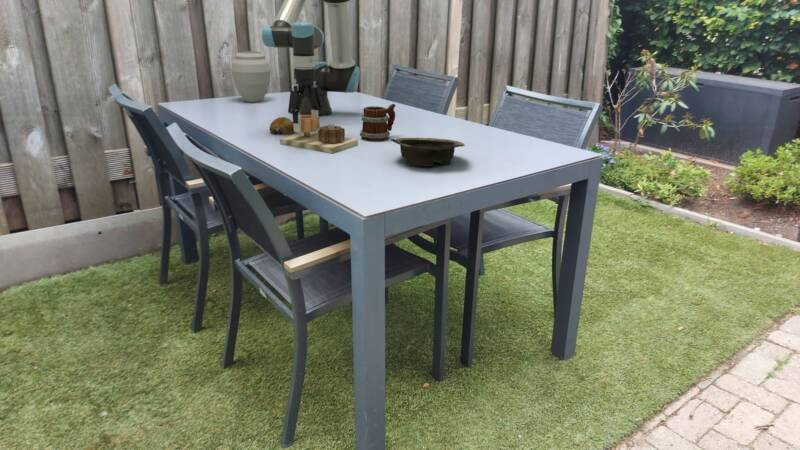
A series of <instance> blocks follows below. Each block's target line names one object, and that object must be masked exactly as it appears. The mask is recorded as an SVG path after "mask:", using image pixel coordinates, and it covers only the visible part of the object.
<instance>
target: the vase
mask: <svg viewBox="0 0 800 450" xmlns="http://www.w3.org/2000/svg"><path fill="white" fill-rule="evenodd" d="M230 69H231V70H230V71H231V75H232V79H233V83H234V85H235V87H236V90H237V92H238V93H239V95H240V97H241V98H242V99H243V100H244V101H245V102H247V103H260V102H261V101H263V100H264V98H265V96H266V95H267V92H268V89H269V86H270V83H271V74H272V73H271V71H272V70H271V69H272V68H271V66H270V63H269V61H268V60H267V59H266V55H265V54H264V53H262V51H255V50H254V51H252V50H250V51H238V52H237V53H236V54H235V55H234V59H233V61H232V62H231V68H230Z"/></svg>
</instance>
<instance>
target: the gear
mask: <svg viewBox="0 0 800 450" xmlns="http://www.w3.org/2000/svg"><path fill="white" fill-rule="evenodd" d="M300 117H301V132H300V133H302V132H318V129H320V127H321V126H320V116H319V117H318V118H317V117H316V116H314V115H300ZM293 129H294V123H293Z"/></svg>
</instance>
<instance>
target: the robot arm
mask: <svg viewBox="0 0 800 450" xmlns="http://www.w3.org/2000/svg"><path fill="white" fill-rule="evenodd" d="M306 1H307V0H283V2H282V3H281V7H280V9H279V11H278V14H277V16H276V17H275V20H274V22H273V23H272V25H265V26H264V27H263V28H262V31H261V38H262V42H263V44H264V46H265V47H269V48H275V49H277V48H279V49H280V48H282V49H285V48H286V49H289V48H291V49H292V62H293V65H292V66H293V67H294V69H293V77H294V78H293V79H294V80H296V81H295V84H291V85H290V86H289V89H290V90H289V91H290V93H289V100H288V109H287V113H288V114H291V115H292V122H293V123H294V133H302V132H301V117H300V115H314V116H316V117H317V118H318V117H319V118H320V117H326V116H331V115H332V111H333V110H332V107H331V104H330V101H329V100H330V99H329V97H328V92H329V93H330V92H332V93H346V94H347V93H355V92H356V91H357V90H358V86H359V84H360V83H359V82H360V78H361V77H360V76H361V70H360V69H361V68H360V67H359V66H358V65H357V66H356V61H355V60H354V59H353V58H352V47H351V34H350V33H351V32H350V31H351V30H350V20H349V17H350V16H349V7H348V6H349V5H348V4H349V3H350V1H351V0H322V1H323V2H324V3H325V4H326V5H327V15H328V16H327V18H328V29H329V39H330V47H331V61H329V64H328V63H327V62H326V61H317V62H315V49H318V48H320V47H321V46H322V45H323V44H324V42H325V35H324V32H323V30H322V29H320V28H319V27H317V26H314V24H313V23H312V22H304V21H303V22H302V21H301V22H299V21H298V20H299V17H300V16H301V13H302V11H303V8H304V6H305V4H306Z"/></svg>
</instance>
